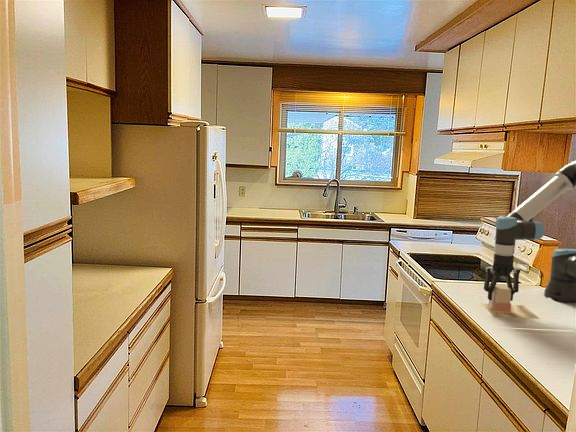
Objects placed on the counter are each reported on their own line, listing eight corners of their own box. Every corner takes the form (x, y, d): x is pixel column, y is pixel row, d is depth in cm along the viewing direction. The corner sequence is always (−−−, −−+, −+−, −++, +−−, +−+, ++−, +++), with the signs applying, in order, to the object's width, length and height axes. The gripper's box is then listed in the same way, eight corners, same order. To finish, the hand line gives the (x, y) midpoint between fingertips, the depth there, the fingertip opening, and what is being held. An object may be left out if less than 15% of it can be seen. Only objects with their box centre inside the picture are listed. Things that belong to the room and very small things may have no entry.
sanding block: (503, 306, 205) (505, 284, 204) (510, 313, 197) (512, 289, 195) (488, 306, 205) (490, 283, 204) (495, 312, 197) (497, 289, 196)
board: (523, 306, 208) (523, 305, 207) (539, 319, 192) (540, 318, 192) (481, 304, 209) (481, 303, 209) (493, 317, 193) (494, 316, 193)
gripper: (523, 252, 201) (518, 305, 204) (477, 251, 202) (473, 303, 205) (531, 256, 194) (526, 311, 197) (483, 255, 195) (479, 309, 198)
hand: (499, 307), depth 201 cm, fingers closed on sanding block, 6 cm apart
